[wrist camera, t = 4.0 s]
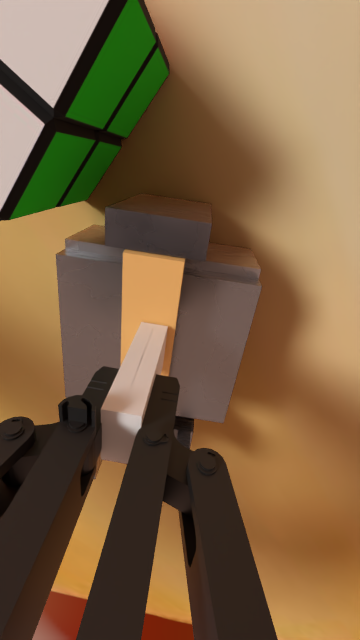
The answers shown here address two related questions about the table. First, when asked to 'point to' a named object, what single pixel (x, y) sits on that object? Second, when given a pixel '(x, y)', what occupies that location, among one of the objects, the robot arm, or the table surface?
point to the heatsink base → (194, 306)
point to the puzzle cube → (70, 95)
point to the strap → (150, 297)
